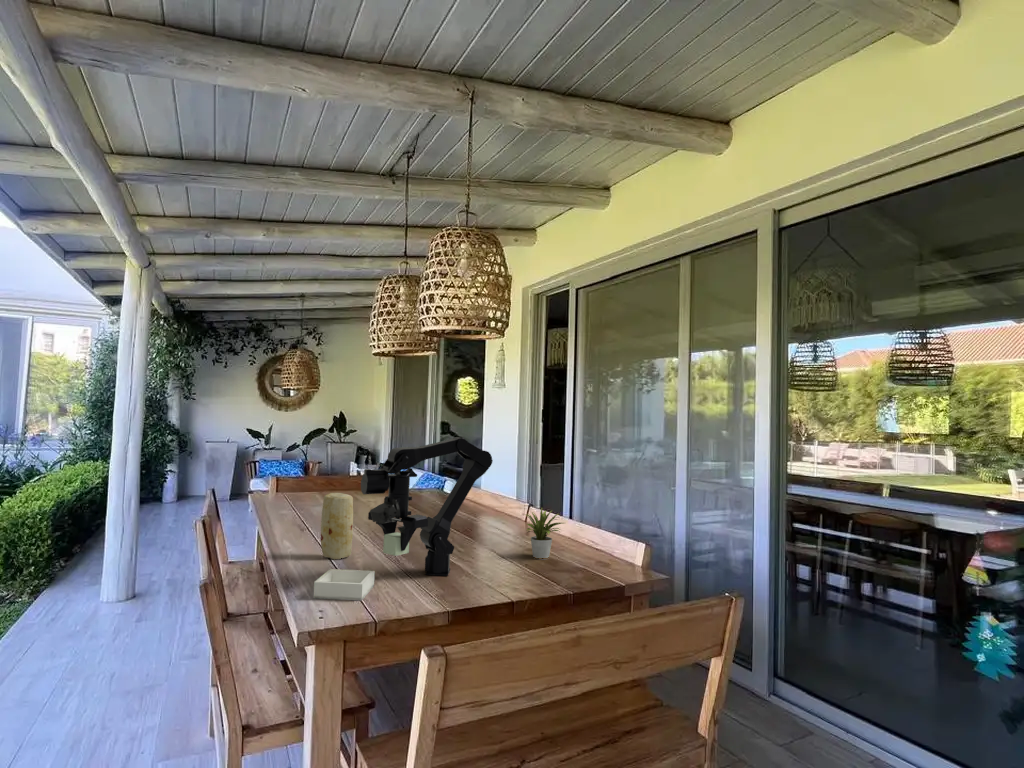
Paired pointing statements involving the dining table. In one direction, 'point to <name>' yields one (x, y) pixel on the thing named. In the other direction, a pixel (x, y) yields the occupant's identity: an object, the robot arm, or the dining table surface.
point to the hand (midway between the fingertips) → (396, 548)
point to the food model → (337, 525)
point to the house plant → (541, 534)
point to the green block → (393, 544)
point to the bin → (344, 584)
